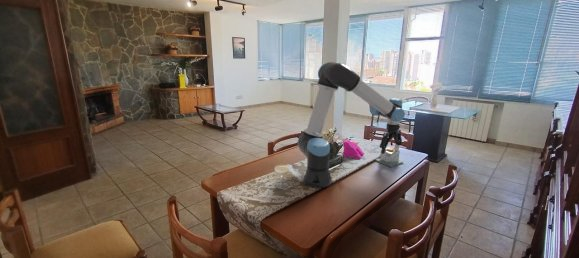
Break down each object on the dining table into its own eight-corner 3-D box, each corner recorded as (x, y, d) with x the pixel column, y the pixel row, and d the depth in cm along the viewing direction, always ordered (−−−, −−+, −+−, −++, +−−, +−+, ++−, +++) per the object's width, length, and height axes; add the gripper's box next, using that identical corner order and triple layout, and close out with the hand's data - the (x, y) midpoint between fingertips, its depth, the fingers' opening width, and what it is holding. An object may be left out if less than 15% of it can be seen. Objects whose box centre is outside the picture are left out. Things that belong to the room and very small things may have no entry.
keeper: (390, 167, 166) (392, 153, 163) (375, 160, 175) (376, 148, 173) (402, 163, 172) (404, 150, 169) (387, 157, 181) (388, 144, 179)
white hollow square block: (390, 164, 168) (391, 153, 166) (379, 159, 174) (381, 149, 173) (398, 161, 172) (399, 151, 170) (388, 157, 179) (389, 147, 177)
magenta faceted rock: (342, 156, 184) (343, 141, 181) (347, 151, 193) (348, 137, 190) (360, 159, 178) (361, 144, 176) (364, 154, 187) (365, 140, 184)
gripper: (385, 127, 157) (381, 161, 163) (410, 122, 169) (406, 154, 175) (375, 124, 163) (372, 157, 169) (400, 119, 175) (396, 150, 181)
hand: (389, 156), depth 172 cm, fingers open, 11 cm apart
